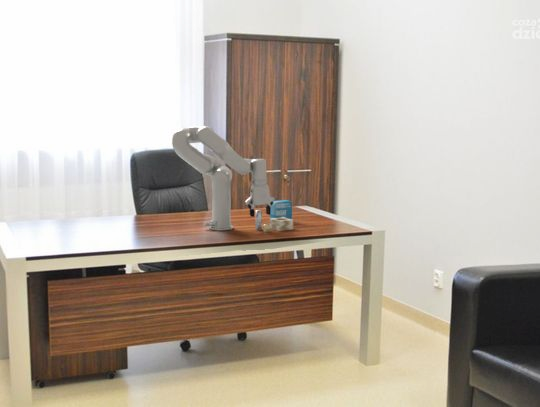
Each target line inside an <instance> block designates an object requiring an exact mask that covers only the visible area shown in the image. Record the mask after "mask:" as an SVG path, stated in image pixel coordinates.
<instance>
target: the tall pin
mask: <svg viewBox="0 0 540 407" xmlns="http://www.w3.org/2000/svg"><path fill="white" fill-rule="evenodd" d="M262 213H263V211H262V210H261V209H256V210H255V230H256V231H260V230H261V231H262V229H263V225H262V223H263V220H262V219H263V214H262Z"/></svg>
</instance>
